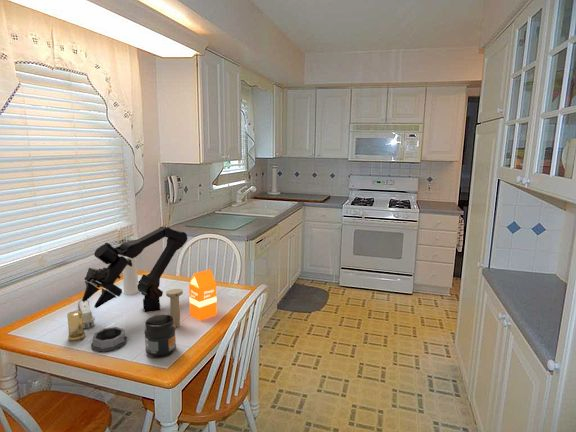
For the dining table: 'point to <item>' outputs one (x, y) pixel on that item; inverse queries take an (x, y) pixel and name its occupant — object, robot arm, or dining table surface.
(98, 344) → the collar fitting
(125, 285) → the spray bottle
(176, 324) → the handle
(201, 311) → the orange juice
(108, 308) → the dining table surface
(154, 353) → the supplement container
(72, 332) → the gold bulb-shaped piece
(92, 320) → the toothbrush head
